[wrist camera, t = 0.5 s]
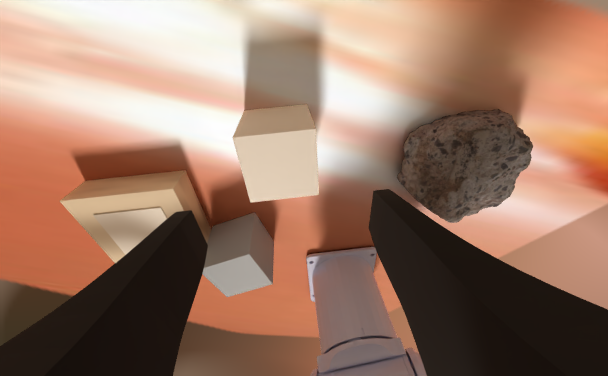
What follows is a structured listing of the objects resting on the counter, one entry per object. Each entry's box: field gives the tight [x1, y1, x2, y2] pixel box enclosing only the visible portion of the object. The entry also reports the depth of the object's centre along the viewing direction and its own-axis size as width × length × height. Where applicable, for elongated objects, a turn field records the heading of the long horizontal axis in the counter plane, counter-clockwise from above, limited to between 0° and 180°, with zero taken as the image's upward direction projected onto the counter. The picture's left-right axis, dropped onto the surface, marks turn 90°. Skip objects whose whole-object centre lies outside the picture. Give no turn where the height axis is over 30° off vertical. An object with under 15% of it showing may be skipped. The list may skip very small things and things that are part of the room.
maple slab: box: [60, 170, 211, 263], centre depth 20 cm, size 8×8×3 cm
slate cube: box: [202, 212, 274, 297], centre depth 21 cm, size 4×4×5 cm
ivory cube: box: [233, 104, 319, 203], centre depth 16 cm, size 4×4×5 cm
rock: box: [397, 109, 533, 223], centre depth 19 cm, size 9×11×4 cm
